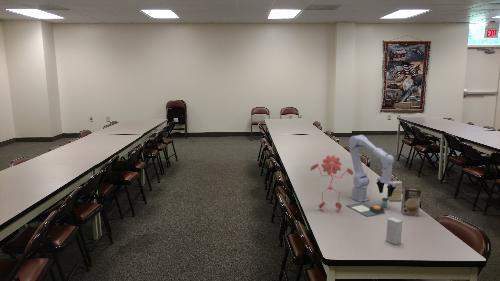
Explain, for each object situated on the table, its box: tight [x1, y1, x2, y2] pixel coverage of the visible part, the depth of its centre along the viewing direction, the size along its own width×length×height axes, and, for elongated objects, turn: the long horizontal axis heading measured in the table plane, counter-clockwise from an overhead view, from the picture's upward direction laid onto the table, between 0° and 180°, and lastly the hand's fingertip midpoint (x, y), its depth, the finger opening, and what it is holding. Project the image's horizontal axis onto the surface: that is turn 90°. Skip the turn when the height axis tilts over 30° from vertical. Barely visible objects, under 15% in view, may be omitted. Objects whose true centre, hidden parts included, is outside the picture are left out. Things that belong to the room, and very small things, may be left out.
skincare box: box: [385, 216, 403, 245], centre depth 188 cm, size 6×4×12 cm
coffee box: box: [400, 186, 422, 217], centre depth 225 cm, size 9×6×16 cm
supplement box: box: [386, 180, 403, 202], centre depth 248 cm, size 8×5×13 cm, turn 92°
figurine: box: [309, 154, 354, 214], centre depth 231 cm, size 15×26×35 cm, turn 84°
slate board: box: [345, 201, 386, 218], centre depth 232 cm, size 20×14×3 cm
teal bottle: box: [381, 197, 389, 209], centre depth 235 cm, size 3×3×6 cm
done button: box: [373, 205, 382, 210], centre depth 227 cm, size 4×4×2 cm
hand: (385, 194), depth 234 cm, fingers open, 7 cm apart
